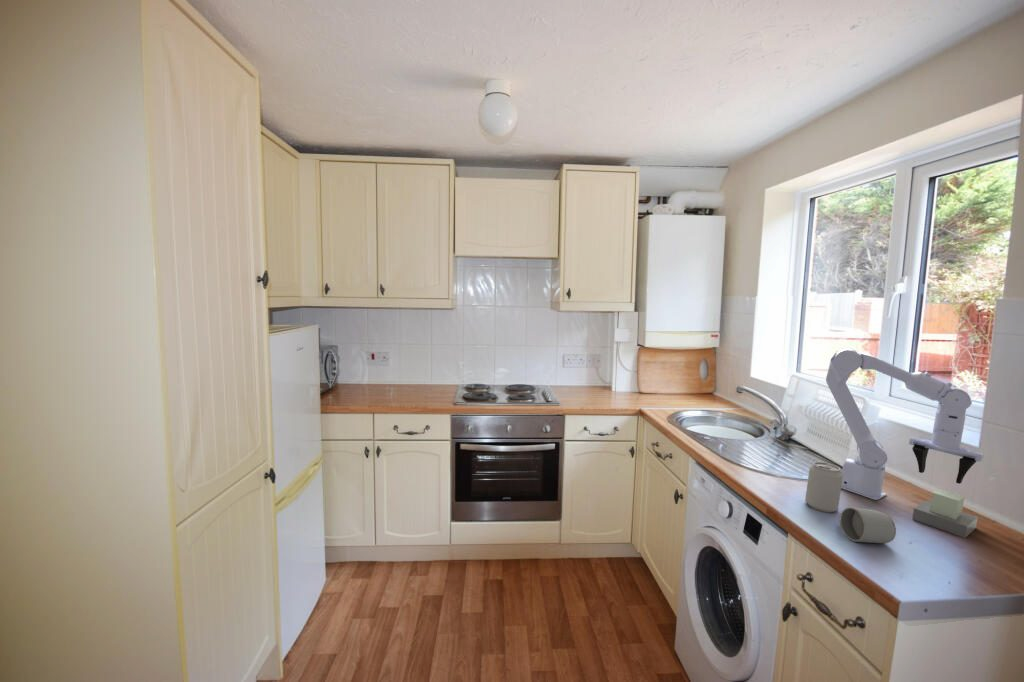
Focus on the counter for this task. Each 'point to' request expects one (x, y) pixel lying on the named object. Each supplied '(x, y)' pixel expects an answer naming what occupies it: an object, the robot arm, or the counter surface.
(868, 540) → the grey cup
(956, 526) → the stone base
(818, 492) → the can
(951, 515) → the green block
